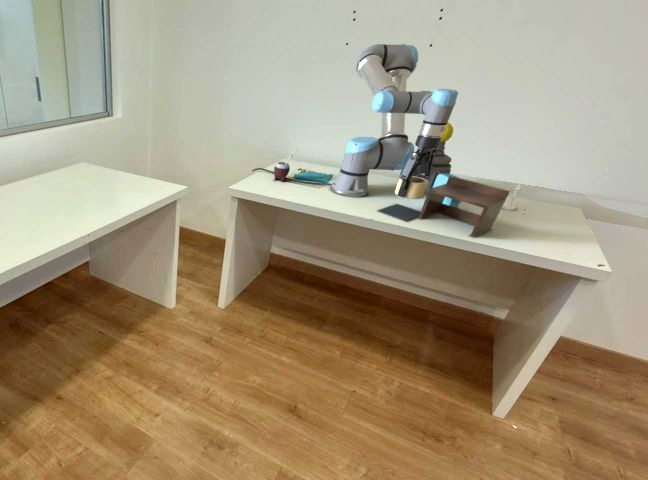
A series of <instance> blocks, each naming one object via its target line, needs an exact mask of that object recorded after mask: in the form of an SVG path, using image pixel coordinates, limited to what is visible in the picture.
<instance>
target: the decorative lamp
mask: <svg viewBox="0 0 648 480" xmlns="http://www.w3.org/2000/svg"><path fill="white" fill-rule="evenodd" d="M453 134H454V127H453V125H452V124H451V123H450V122H449V121H448V122H447V125H446V130H445V131H444V133H443V135H442V136H441V141H440V144H439V146H438V148H435V149H437V152H436V154H435V157H434V162H433V166H432V170H431V173H430V176H429V177H428V176H426V178H425V179H426V180H428V181H429V183H428V186H427V189H426V191H425V194H424V196H426V197H427V195H428V192H429V190H430V189H431V188H433V185H434V183H435V180H436V178H437V176H438V175H439V174H451V171H452V164H451V162H452V157H451V156H449V155H447V154H446V153H445V150H446V146H445V145H446V142H447V141H449V140H450V139H451V138H452V137H453ZM403 170H404V169H402V170H400V171H401V172H400V174H399V177H398V180H397V182H398V181H399V178H400V176H401V174H402V172H403ZM428 170H429V169H428ZM428 174H429V173H428ZM418 175H420V165H419V166H418V168H417V169H416V171H415V173H414V174H413V176H415V177H418Z"/></svg>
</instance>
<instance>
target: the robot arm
mask: <svg viewBox="0 0 648 480" xmlns="http://www.w3.org/2000/svg"><path fill="white" fill-rule="evenodd" d="M418 61H419V51H418V49H417V47H416V46H414V45H413V44H406V43H402V44H386V43H385V44H383V43H378V44H372V45H370V46H369V47H367V48H365V49H364V50H362V52H361V53H360V54H359V55H358V57H357V59H356V62H355V71H356V73H357V75H358V76H359V77H360V78H361V79H363V80H364V81H365V83H366V85H367V87H368V88H369V91H371V93H372V95H373V96H374V97H373V100H372V110H373V112H375V113H381V131H380V132H381V133H380V136H379V137H378V138H377V137H373V136H369V137H368V136H359V137H354V138H351V139H349V141H348V142H347V144H346V147H345V149H344V154H343V158H342V162H341V164H340V165H341V166H340V169H339V173H338V174H337V176H336V178H334V180H333V182H332V183H329V182H313V181H304V180H297V179H293V178H289V177H286V178H285V179H286V180H287V181H291V182H294V183H301V184H308V185H321V186H324V185H325V186H331V187H330V189H331V191H332V192H334V193H335V194H338V195H341V196H345V197H355V198H357V197H358V198H359V197H360V198H361V197H364V196H366V195H367V194H368V191H369V180H368V177H369V173H370V170H378V171H381V170H382V171H402V169H404V170H403V172H402V174H401V173H400V174H401V176H400V175H399V177H400V179H403V180H402V183H401V186H400V189H399V192H398V195H396V196H398V197H401V198H404V197H405V196H406V193H407V190H408V188H409V185H410V182H411V181H410V179H411V177H412V176H413V174H414V173H415V171H416V169H417V168H418V166H419V165H420V175H418V177H420V178H424V179H425V178H426V176H428V177H429V176H430V173H431V170H432V166H433V162H434V157H435V154H436V152H437V149H435V148H438V146H439V144H440V141H441V136H442V135H443V133H444V131H445V130H446V125H447V122H448V123H449V120H450V118H451V116H452V113H453V111H454V108H455V105H456V103H457V99H458V96H459V91H458V90H456V89H451V88H436V89H434V91H433V92H432V91H430V90H420V91H407V80H408V79H409V78H410V77H411V76H412V74H413V73H414V71H416V68H417V63H418ZM406 114H409V115H410V114H411V115H412V114H413V115H414V114H416V115H417V114H418V115H423V116H424V118H423V121H422V123H421V126H420V127H419V131H418V134H419V135H417V137H416V140H415V142H414V143H413V142H412V141H409V136H408V134H406V133H405V126H406V125H405V124H406V123H405V122H406ZM415 146H416V147H417V149H416V151H415ZM428 169H429V170H428ZM258 170H259V171H264V172H267V173H271V174H274V175H275V173H274V170H269V169H266V168H263V167H257V168H254V169H252V170H251V172H256V171H258ZM428 173H429V174H428Z"/></svg>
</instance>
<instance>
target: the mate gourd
mask: <svg viewBox="0 0 648 480" xmlns="http://www.w3.org/2000/svg"><path fill="white" fill-rule="evenodd" d="M297 152H299V150H297V149H296V150H295V151H293V152H292V153H290V155H289V156H288V159H287V161H286V162H285V161H279V162H276V164H275V165H274V169H273V172H274V173H275V174H274V173H273V174H274V179H273V181H274V182H275V181H280V182H282V183H284V182H285V180H286V179H285V178H287V176H289V173H290V170H291V168H290V167H291V166H290V164H289V161H290V160H291V158H292V157H293V155H295V154H296V153H297Z"/></svg>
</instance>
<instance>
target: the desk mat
mask: <svg viewBox="0 0 648 480" xmlns="http://www.w3.org/2000/svg"><path fill="white" fill-rule="evenodd" d="M377 212H379V213H381V214H385V215H388V216H390V217H393V218H395V219H398V220H401V221H404V222H409V221H412V220H414V219H416V218H418V217H419V215H420V212H421V210H420V211H419V210H416V209H414V208H411V207H407V206H404V205H402V204H398V203H396V204H393V205H390V206H387V207H384V208H381V209H378V210H377Z"/></svg>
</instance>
